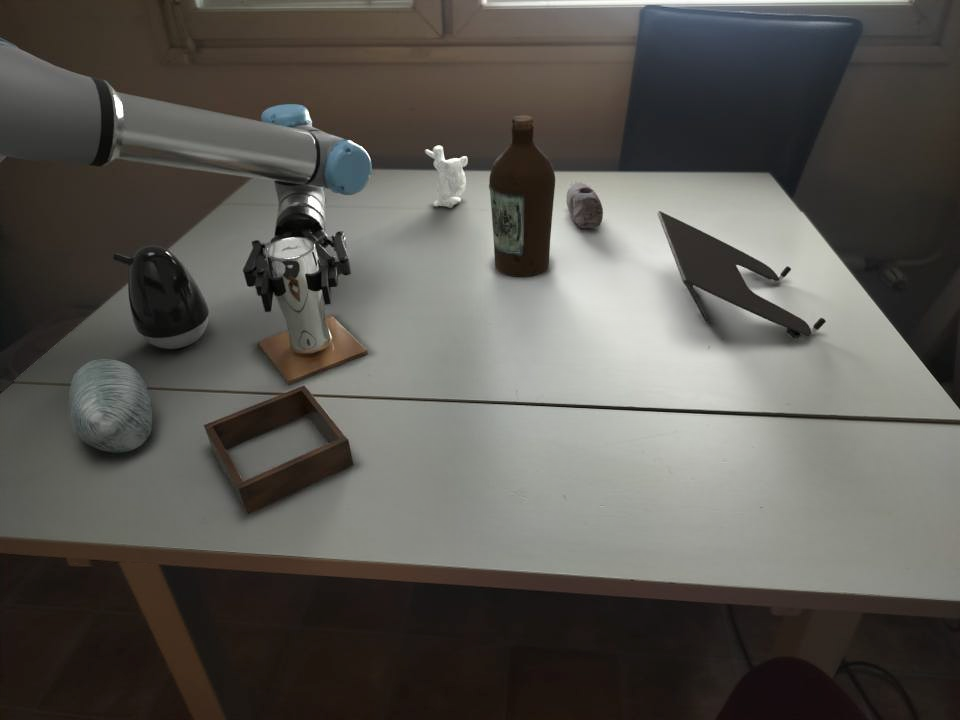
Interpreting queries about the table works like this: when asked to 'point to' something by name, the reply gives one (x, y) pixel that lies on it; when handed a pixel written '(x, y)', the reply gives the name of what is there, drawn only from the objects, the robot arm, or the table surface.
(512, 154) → the olive oil
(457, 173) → the white irregular figure
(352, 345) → the cork mat
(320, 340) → the beer glass
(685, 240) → the laptop tray
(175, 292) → the pump dispenser
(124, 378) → the grey ovoid lump
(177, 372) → the table surface
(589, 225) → the perforated stone tool
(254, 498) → the frame
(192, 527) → the table surface
